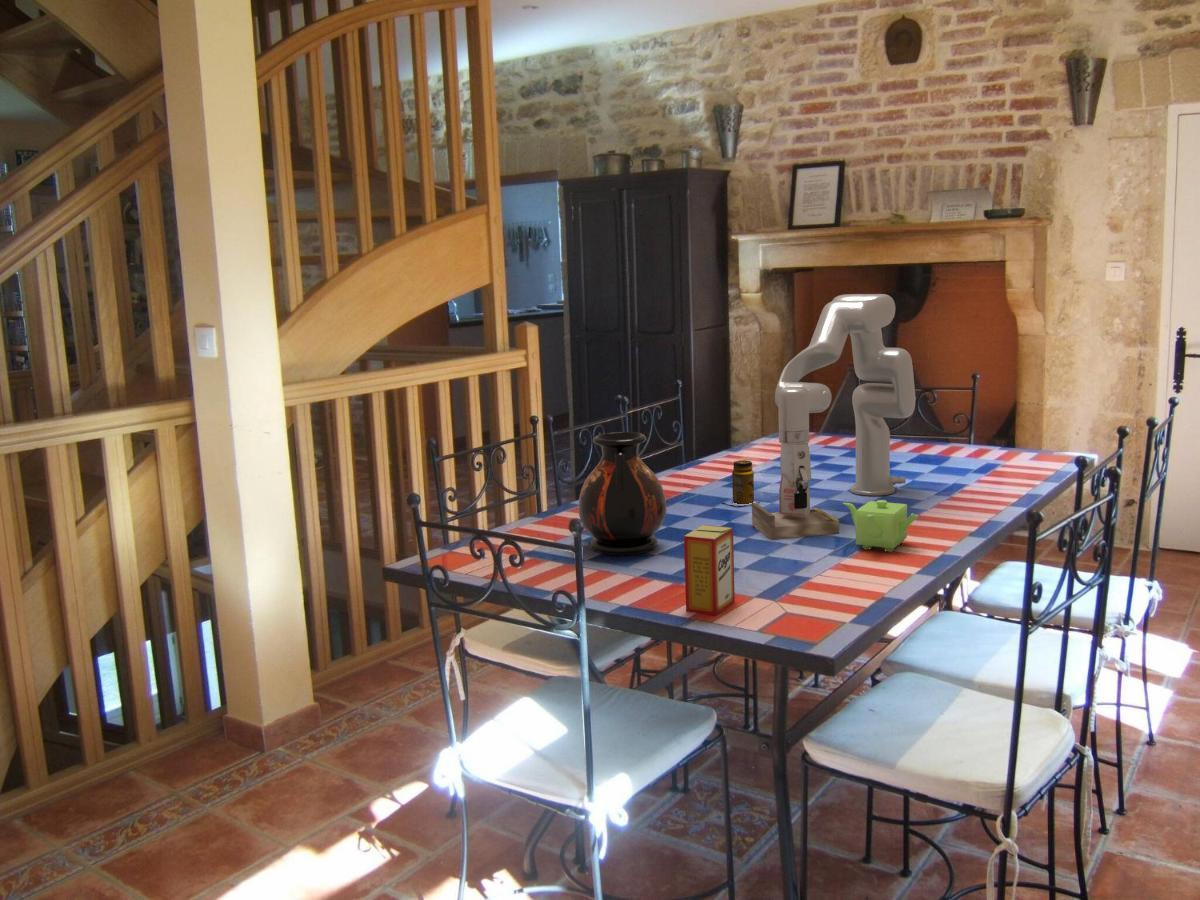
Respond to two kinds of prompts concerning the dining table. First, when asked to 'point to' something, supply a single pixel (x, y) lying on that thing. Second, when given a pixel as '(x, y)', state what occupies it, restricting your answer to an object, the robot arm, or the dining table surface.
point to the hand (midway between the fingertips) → (794, 504)
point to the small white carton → (791, 498)
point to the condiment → (743, 482)
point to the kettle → (881, 524)
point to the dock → (793, 523)
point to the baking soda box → (709, 569)
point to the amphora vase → (622, 498)
